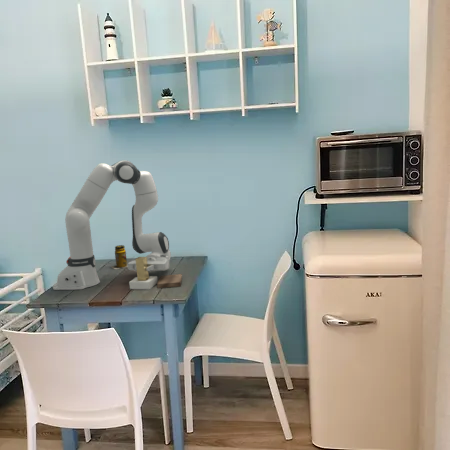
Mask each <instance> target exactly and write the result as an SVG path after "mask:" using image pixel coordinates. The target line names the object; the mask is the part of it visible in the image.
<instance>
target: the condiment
mask: <svg viewBox="0 0 450 450" xmlns="http://www.w3.org/2000/svg"><path fill="white" fill-rule="evenodd" d="M114 250H115V251H114V257H115V265H112V266H111V268H112V269H114V270H119V269H124V268H128V265H127V264H128V260H127V251H126V248H125V245H123V244H121V245H115V246H114Z"/></svg>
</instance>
